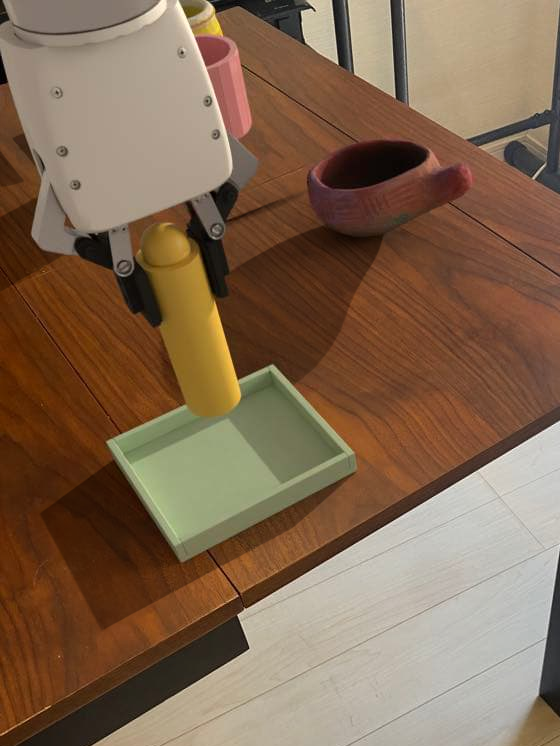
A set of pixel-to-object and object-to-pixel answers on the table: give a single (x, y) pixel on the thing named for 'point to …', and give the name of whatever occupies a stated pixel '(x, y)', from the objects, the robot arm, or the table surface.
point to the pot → (226, 81)
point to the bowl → (381, 186)
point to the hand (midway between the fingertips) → (181, 299)
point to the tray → (230, 463)
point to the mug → (201, 17)
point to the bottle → (189, 320)
